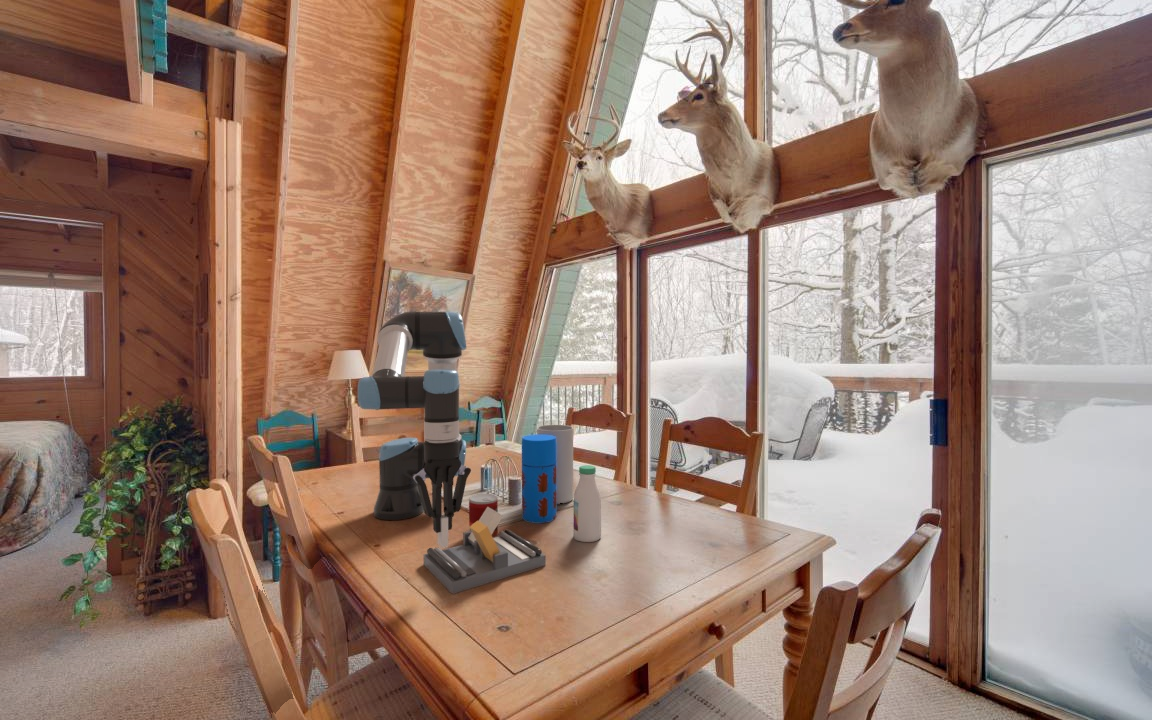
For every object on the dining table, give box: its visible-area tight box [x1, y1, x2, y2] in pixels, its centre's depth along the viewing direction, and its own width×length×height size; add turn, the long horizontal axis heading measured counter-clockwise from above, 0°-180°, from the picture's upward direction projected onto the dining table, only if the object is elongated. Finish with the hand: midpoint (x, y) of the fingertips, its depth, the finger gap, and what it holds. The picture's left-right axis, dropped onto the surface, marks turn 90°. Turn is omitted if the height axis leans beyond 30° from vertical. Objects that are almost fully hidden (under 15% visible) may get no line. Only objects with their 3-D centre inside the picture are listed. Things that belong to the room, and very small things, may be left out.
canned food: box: [468, 493, 499, 537], centre depth 143 cm, size 8×8×11 cm
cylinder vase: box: [536, 424, 574, 505], centre depth 176 cm, size 12×12×25 cm
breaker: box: [468, 507, 504, 547], centre depth 130 cm, size 5×2×10 cm
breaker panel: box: [423, 528, 547, 595], centre depth 125 cm, size 18×24×6 cm
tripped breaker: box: [470, 521, 500, 562], centre depth 119 cm, size 5×2×10 cm, turn 36°
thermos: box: [521, 434, 558, 524], centre depth 158 cm, size 11×11×25 cm
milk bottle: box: [573, 464, 602, 543], centre depth 142 cm, size 8×8×20 cm
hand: (442, 545), depth 113 cm, fingers closed
